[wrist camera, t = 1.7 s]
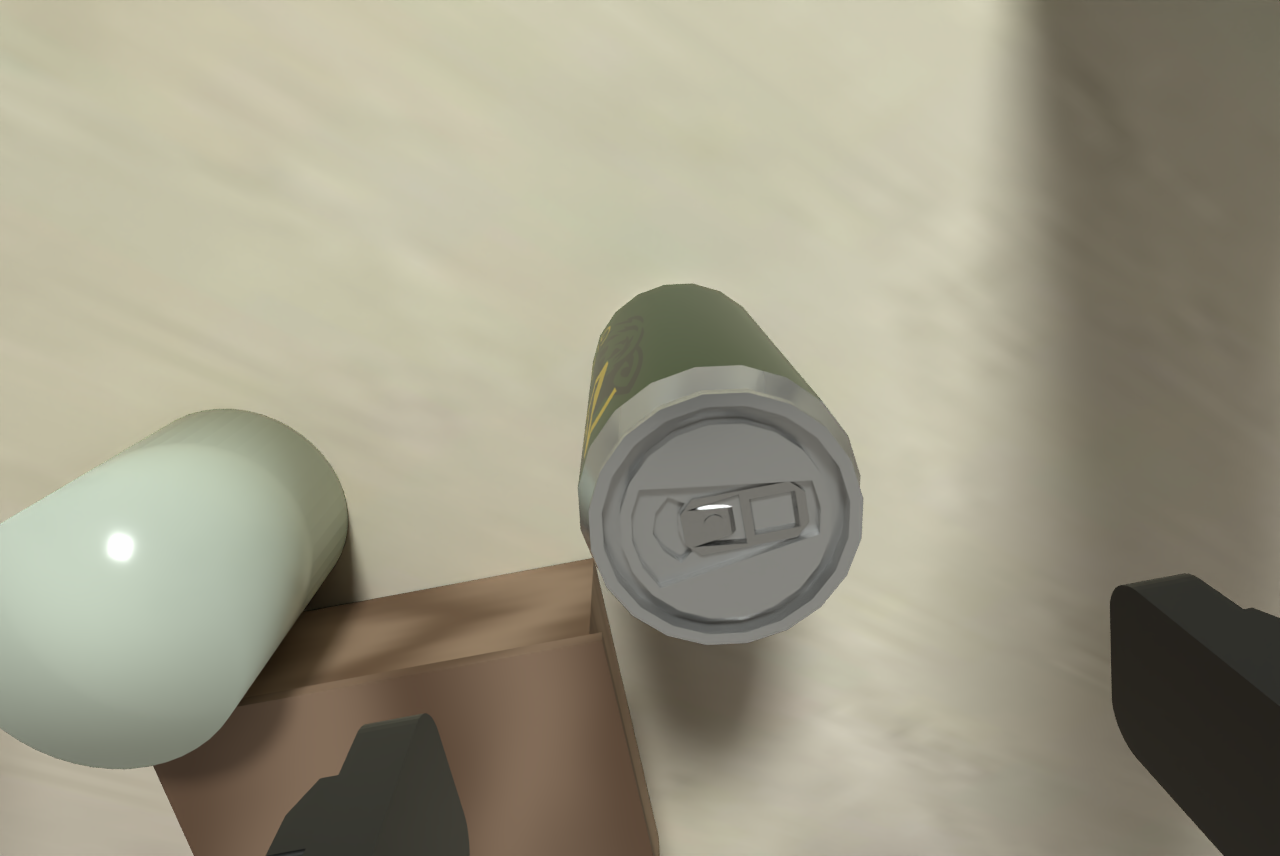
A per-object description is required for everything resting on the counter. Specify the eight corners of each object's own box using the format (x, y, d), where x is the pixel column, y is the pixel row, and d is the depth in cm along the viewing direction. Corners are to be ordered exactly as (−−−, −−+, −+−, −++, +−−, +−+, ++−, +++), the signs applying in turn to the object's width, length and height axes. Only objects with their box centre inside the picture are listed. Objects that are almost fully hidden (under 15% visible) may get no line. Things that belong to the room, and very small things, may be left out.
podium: (605, 542, 28) (602, 639, 22) (673, 844, 32) (685, 993, 26) (231, 611, 28) (135, 725, 23) (344, 901, 32) (286, 1059, 27)
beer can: (750, 263, 25) (858, 350, 14) (775, 428, 27) (891, 627, 16) (576, 298, 26) (543, 412, 14) (612, 460, 27) (609, 679, 16)
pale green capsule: (309, 390, 26) (183, 484, 19) (374, 585, 28) (284, 742, 21) (95, 431, 26) (-116, 542, 19) (175, 622, 29) (14, 790, 21)
